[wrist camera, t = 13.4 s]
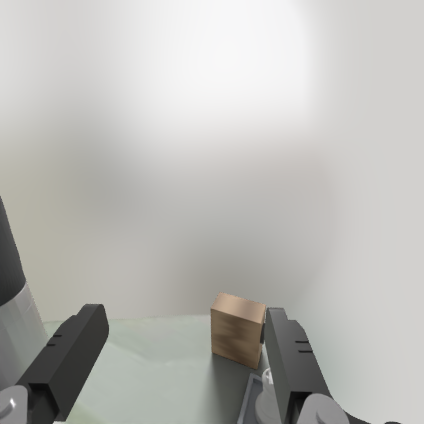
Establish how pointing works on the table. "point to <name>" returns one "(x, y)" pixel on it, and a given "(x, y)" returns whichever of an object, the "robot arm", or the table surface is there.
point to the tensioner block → (237, 329)
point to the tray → (250, 400)
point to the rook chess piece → (267, 402)
